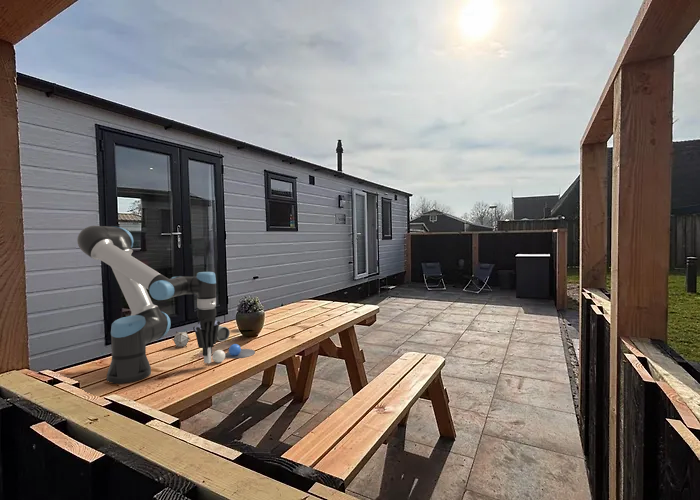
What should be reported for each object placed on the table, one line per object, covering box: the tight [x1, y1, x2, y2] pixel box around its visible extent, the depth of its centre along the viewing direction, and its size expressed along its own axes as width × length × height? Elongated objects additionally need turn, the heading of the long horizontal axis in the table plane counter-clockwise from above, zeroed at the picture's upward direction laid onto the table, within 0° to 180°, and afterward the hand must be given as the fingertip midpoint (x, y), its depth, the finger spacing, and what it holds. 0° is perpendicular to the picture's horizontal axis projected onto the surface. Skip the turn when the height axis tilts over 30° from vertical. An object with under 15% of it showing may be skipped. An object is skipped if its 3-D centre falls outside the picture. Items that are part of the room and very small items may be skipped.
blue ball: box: [228, 343, 242, 356], centre depth 169 cm, size 6×6×6 cm
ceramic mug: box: [216, 325, 231, 342], centre depth 196 cm, size 11×8×8 cm
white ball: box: [211, 349, 226, 363], centre depth 160 cm, size 6×6×6 cm
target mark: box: [224, 348, 256, 359], centre depth 172 cm, size 14×14×1 cm
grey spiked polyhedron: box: [171, 330, 191, 349], centre depth 184 cm, size 9×8×10 cm
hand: (207, 362), depth 154 cm, fingers closed
